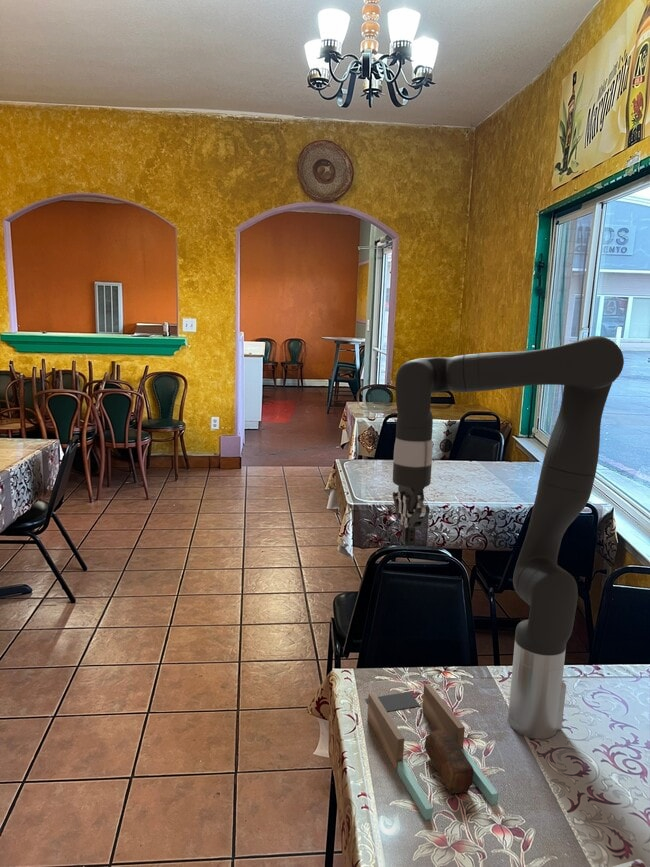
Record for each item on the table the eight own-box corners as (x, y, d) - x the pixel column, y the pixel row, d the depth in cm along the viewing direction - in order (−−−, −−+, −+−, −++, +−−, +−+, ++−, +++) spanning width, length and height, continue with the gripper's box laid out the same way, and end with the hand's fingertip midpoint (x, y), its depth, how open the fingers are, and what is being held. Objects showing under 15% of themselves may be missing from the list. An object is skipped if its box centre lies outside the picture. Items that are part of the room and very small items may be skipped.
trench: (427, 710, 128) (429, 683, 127) (462, 756, 115) (464, 727, 114) (367, 721, 124) (368, 693, 123) (396, 770, 111) (397, 739, 110)
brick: (471, 793, 106) (475, 769, 105) (449, 795, 105) (453, 771, 104) (443, 748, 116) (447, 725, 115) (423, 750, 115) (427, 727, 114)
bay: (463, 758, 115) (464, 748, 114) (497, 803, 104) (498, 793, 104) (397, 772, 111) (397, 762, 110) (425, 820, 100) (426, 809, 100)
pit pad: (409, 692, 134) (409, 691, 134) (420, 706, 129) (420, 705, 129) (364, 700, 131) (364, 698, 131) (373, 714, 126) (373, 713, 126)
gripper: (445, 467, 121) (439, 554, 125) (415, 452, 134) (411, 531, 137) (409, 469, 119) (404, 557, 123) (382, 454, 132) (378, 534, 135)
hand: (408, 543), depth 130 cm, fingers closed
